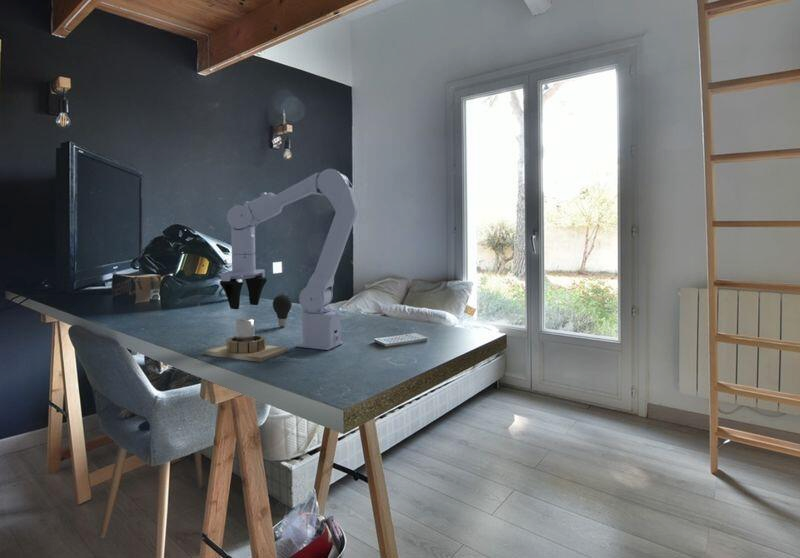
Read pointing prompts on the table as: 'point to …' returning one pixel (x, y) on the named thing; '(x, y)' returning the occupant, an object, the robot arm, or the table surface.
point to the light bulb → (282, 308)
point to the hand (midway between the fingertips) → (244, 306)
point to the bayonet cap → (245, 330)
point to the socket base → (247, 356)
